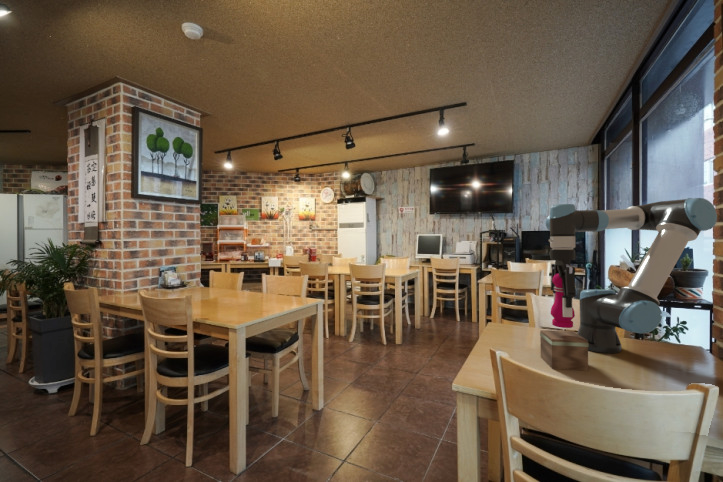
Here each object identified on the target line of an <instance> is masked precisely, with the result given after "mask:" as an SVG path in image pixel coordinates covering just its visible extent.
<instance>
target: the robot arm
mask: <svg viewBox="0 0 723 482" xmlns="http://www.w3.org/2000/svg"><path fill="white" fill-rule="evenodd" d="M575 205H576V204H573V203H562V204H561V203H560V204H559V203H558V204H553V205H551V206H550V210H549V215H548V216H547V217H546V219H545V226H546V229H547V230H548V231H549V239H548V242H549V245H550V248H551V249H550V250H549V258H550V260H552V261H554V263H551V266H550V268H551V275H550V277H551V279H550V290H551V291H552V293H553V302H554V301H555V298H556V292H555V291H554V289H555V288H554V287H555V285H554V284H553V281H552V280H553V277H554V275H556V274H558V273H559V277H560V278H562V287H563V293H564V296H562V298H563V317H572V307H573V298H576V297H577V294H576V292H577V291H576V278H575V275H576V268H575V266H572V265H571V261H575V260H576V250H575V248H576V233H577V232H578V233H580V232H584V233H585V232H594V233H596V232H602V231H604V230H614V229H615V230H616V229H625V228H626V229H628V230H632V231H636V230H642V231H643V230H644V231H657V232H658V233H657V234H656V237H654V240H653V242H652V243H651V245H650V247H649V248H648V251H647V252H646V253H645V256H644V258H643V259H642V261H641V263H640V264H639V266H638V268H637V269H636V271H635V273H634V275H633V277H632V278H631V280H630V282H629V284H628V285H626V286H622V287H620V289H619V291H618V292H616V290H614V289H583V290H581V291H580V295H579V299H578V300H579V326H578V327H579V328H578V331H577V332H576V333H577V334H578V335H580V336H581V337H583V338H585V339H586V340H588V343H589V347H588V351H590V352H594V353H595V352H596V353H601V354H602V353H603V354H617V353H621V352H622V343H621V341H620V338H619V335H618V332H617V330H616V329H617V328H618V329H622V330H624V331H627V332H630V333H635V334H636V333H637V334H647V333H651V332H652V331H654V330H655V329H657V327H659V325H660V324H661V322H662V320H663V319H662V317H663V316H662V315H661V314H662V313H663V312H662V310H661V307H660V303H661V302H660V301H659V299H658V296H659V294H660V293H661V290H662V289H663V287H664V286H665V284H666V282H667V280H668V278H669V277H670V274H672V273H671V272H672V271H673V270H674V268H675V266H676V264H677V262H678V260H679V259H680V257H681V256H682V253H683V251H684V249H686V247H687V245H688V243H689V242H692V241H695V240H697V238H698V236H699V235H700V233H701V232H706V231H709V230H712V229H713V228H714V227H715V225H716V224H717V221H718V214H717V211H716V208H715V206H714V205H713V203H712V202H711V201H710V200H708V199H706V198H704V197H688V198H684V199H673V200H663V201H662V200H661V201H655V202H650V203H646V204H645V203H644V204H640V205H635V206H634V205H631V206H628V207H627V208H623V209H621V208H620V209H618V208H617V209H606V210H605V209H602V210H599V209H585V210H581V209H580V210H579V209H578V210H577V209H576V206H575Z"/></svg>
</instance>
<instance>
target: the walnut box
mask: <svg viewBox="0 0 723 482" xmlns="http://www.w3.org/2000/svg"><path fill="white" fill-rule="evenodd" d="M539 335H540V337H539V338H540V340H539V341H540V342H539V343H540V359H542V360H543V361H544V362H545V363H546V364H547V365H548V366H549V367H550V368H551V369H554V370H571V371H585V372H588V371H589V350H588V347H589V343H588V340H586V339H585V338H583V337H581V336H580V335H578V334H577V332H575V331H573V330H553V329H552V330H548V329H547V330H546V329H545V330H544V329H540V332H539Z"/></svg>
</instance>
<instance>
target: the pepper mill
mask: <svg viewBox="0 0 723 482" xmlns="http://www.w3.org/2000/svg"><path fill="white" fill-rule="evenodd" d="M552 281H553V284H554V285H555V287H554V288H555V289H554V291H555V292H556V298H555V301H554V300H553V304H552V306H551V307H550V315H551V316H552V318H553V319H552V322H551V325H552V326H554V327H555V328H561V329H563V328H564V329H571V328H574V322H573V319H574V318H575V316H576V315H575V310H574V307H573V306H572V317H563V298H562V296H564V293H563V287H562V278H560V277H559V273H558V274H556V275H554V277H553V280H552Z"/></svg>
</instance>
